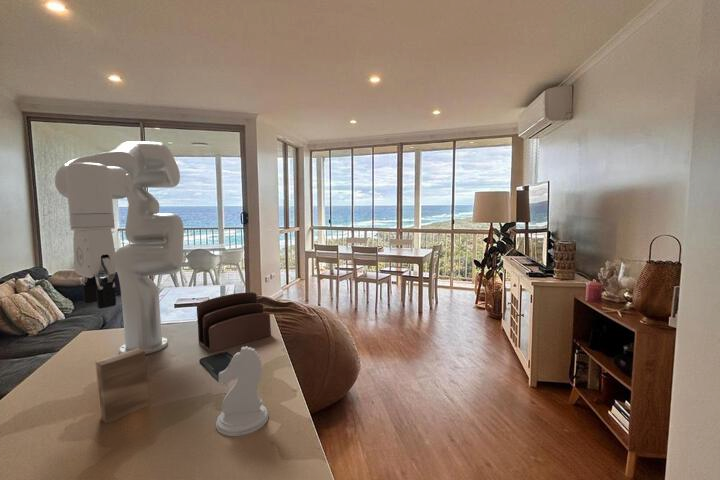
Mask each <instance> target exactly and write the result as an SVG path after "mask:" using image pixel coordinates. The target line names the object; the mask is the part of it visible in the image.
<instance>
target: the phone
mask: <svg viewBox="0 0 720 480" xmlns="http://www.w3.org/2000/svg"><path fill="white" fill-rule="evenodd" d="M233 356H234V355H232V354H231V353H230V352H228V351H222V352H218V353H216V354H211V355H208V356H204V357H201V358H200V359H199V364H200V365H201V366H202V367H203V368H204V369H205V370H206V371H207V372H208V373H209V374H210V375H211V376H212V377H213V378H214V379H215V380H216V381H219V379H218V378H219V372H221V371H224V370H225V369H226V368H227V367H228V365H229V364H230V362H231V360H232V358H233Z"/></svg>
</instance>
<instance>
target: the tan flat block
mask: <svg viewBox="0 0 720 480" xmlns="http://www.w3.org/2000/svg"><path fill="white" fill-rule="evenodd" d="M94 362H95V363H94V364H95V365H94V366H95V372H96V374H95V375H96V384H97V386H96V387H97V395H98V397H97V398H98V406H99V407H98V409H99V417H100V420H101V421H103V422H104V423H105V424H110V423H112V422H113V421H116V420H119V419H121V418H124V417H126V416H128V415H130V414H133V413H134V412H136V411H139V410H141V409H144V408H146V407H149V406H150V399H149V398H150V396H149V395H150V394H149V385H148V384H149V383H148V372H147V358H146V354H145V351H143V350H141V349H139V348H138V349H135V350H132V351H129V352H125V353H122V354H120V353H119V354H117V355H113V356H110V357H106V358H103V359H99V360H97V361H94Z"/></svg>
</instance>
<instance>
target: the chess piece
mask: <svg viewBox="0 0 720 480" xmlns="http://www.w3.org/2000/svg"><path fill="white" fill-rule="evenodd" d="M232 356H233V358H232V360H231V362H230V364H229V365H228V367H227V368H226V369H225V370H224V371H221V372H219V378H218V379H219V380H218V384H219V385H222V386H223V387H224V388H225V387H227V386H228V385H229V383H230V382H231V381H235V380H237V381H236V382H235V383H234V385H233V386H232V387H231V388H230V390H229V391H228V392H227V394H226V395H225V396H224V398H223V400H222V403H221V412H220V413H219V415H218V416H217V418H216V422H215V426H216V430H217V431H218V433H220V434H221V435H224V436H227V437H241V436H247V435H249V434H252V433H255V432H256V431H259V430H260V429H261V428H262V427H263V426H264V425H265V424H266V423H267V422H268V420H269V412H268V409H267V407H266V406H264V405H263V399H262V398H261V397H260V396H259V391H258V390H259V389H258V388H259V383H260V380H261V377H262V374H263V370H262V369H263V367H262V360H261V357H260V354H259V353H258V351H256V349H255V347H253V348H252V347H251V346H250V347H249V346H248V345H246V346H242V347H241V348H240V351H238V352H236V353H235V354H234V355H232Z"/></svg>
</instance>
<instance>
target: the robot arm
mask: <svg viewBox="0 0 720 480" xmlns="http://www.w3.org/2000/svg"><path fill="white" fill-rule="evenodd" d="M55 174H56V175H55V177H54V178H55V179H54V184H55V188H56V190H57V191H58V193H59V194H60V195H62V196H63V197H64V198H66V199H67V202H68V212H69V213H68V214H69V225H70V230H71V231H73V241H72V243H73V244H72V245H73V269H74V273H76V274H77V275H79V276H81V277H82V280H81V281H82V282H81V283H82V292H83V293H82V294H83V303H85V304H91V303H94V302H96V303H97V309H99V310H100V309H101V310H102V309H106V308H111V307H115V306H116V305H117V299H116V284H115V280H116V278H115V277H116V273H117V276H118V282H119V289H120V295H121V297H120V298H121V307H122V320H123V330H124V331H123V333H124V344H122V345H121V346H120V347H119V348H118V350H119V354H122V353H125V352H129V351H132V350H135V349H138V348H139V349H141V350H143V351H145V355H148V354H153V353H156V352H159V351H160V350H162V349H164V348H166V347H167V346H168V345H169V340H168V339H167V337H163V336H162V334H163V333H162V332H163V331H162V323H161V321H162V318H161V306H160V293H159V292H160V291H159V289H158V286H157V285H156V283H155V282H154V281H153V280H152V279H151V278H150V277H152V276H164V275H165V276H166V275H173V274H177V273H179V272H180V271H181V269H182V267H183V258H184V237H185V235H184V233H185V232H184V230H185V228H184V227H185V226H184V223H183V220H182V218H181V217H180V216H179V215H178V214H176V213H160V203H159V201H158V200H157V198H156V197H155V196H154V195H153V194H151V193H150V192H149V191H147V190H146V189H147V188H150V189H151V188H154V189H155V188H157V189H158V188H162V189H163V188H165V189H166V188H175V187H176V186H178V185H179V183H180V180H181V174H180V169H179V167H178V164H177V162H176V159H175V157H174V155H173V153H172V151H171V150H170V148H169V147H168V146H167V145H165V144H164V143H163V142H158V141H157V142H156V141H133V140H132V141H123V142H121V143H120V144H118V145H116V146H115V147H114V148H112V149H111V150H110V151H104V152H99V153H96V154H91V155H86V156H81V157H76V158H73V159H71V160H68V161H67V162H65V163H64V164H62V165H61V166H60V167H59V168H58V170H57V171H56V173H55ZM145 188H146V189H145ZM121 199H127V204H128V205H127V206H128V208H127V216H126V222H125V233H124V234H125V238H126V240H127V241H128V242H130V243H131V244H127V245H126V244H125V245H124V246H121V247H119V248H118V249H117V250H115V242H114V237H113V231H112V229H113V230H114V229H115V228H116V227H115V217H114V215H115V214H114V203H113V200H121Z"/></svg>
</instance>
